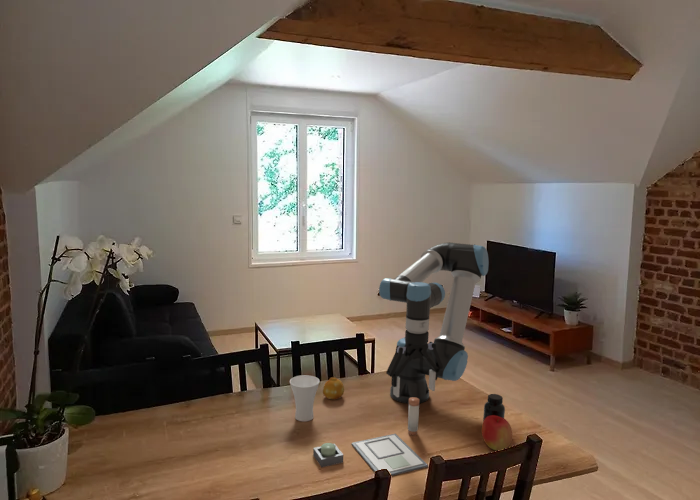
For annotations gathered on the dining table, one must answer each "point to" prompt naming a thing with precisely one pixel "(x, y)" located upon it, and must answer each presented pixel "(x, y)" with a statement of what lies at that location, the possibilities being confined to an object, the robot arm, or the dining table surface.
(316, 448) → the button housing
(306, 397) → the cup
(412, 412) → the marker
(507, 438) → the apple
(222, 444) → the dining table surface
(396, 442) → the grey rectangular board
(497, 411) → the supplement bottle
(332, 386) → the fruit
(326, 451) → the button
